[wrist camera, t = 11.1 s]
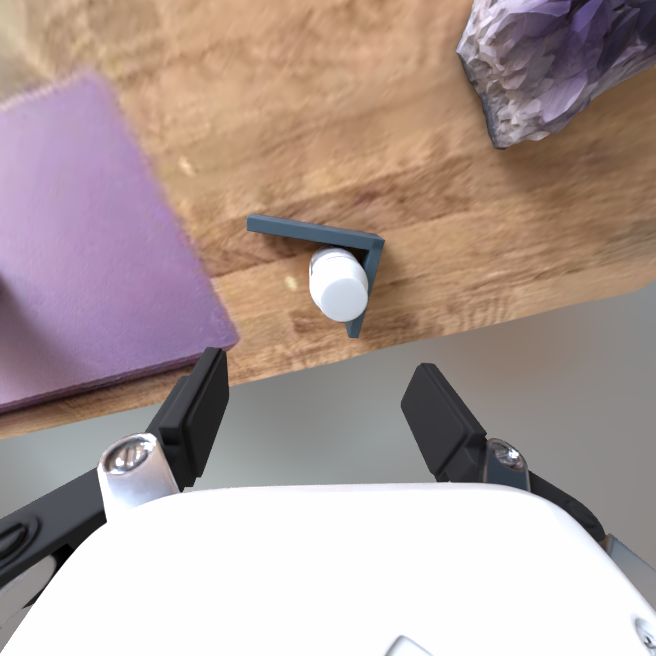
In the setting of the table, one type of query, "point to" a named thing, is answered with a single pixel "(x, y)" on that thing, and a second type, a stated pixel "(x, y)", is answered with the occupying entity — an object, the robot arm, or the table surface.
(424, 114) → the table surface
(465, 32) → the geode
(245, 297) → the table surface
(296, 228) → the corner
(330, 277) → the pill bottle
